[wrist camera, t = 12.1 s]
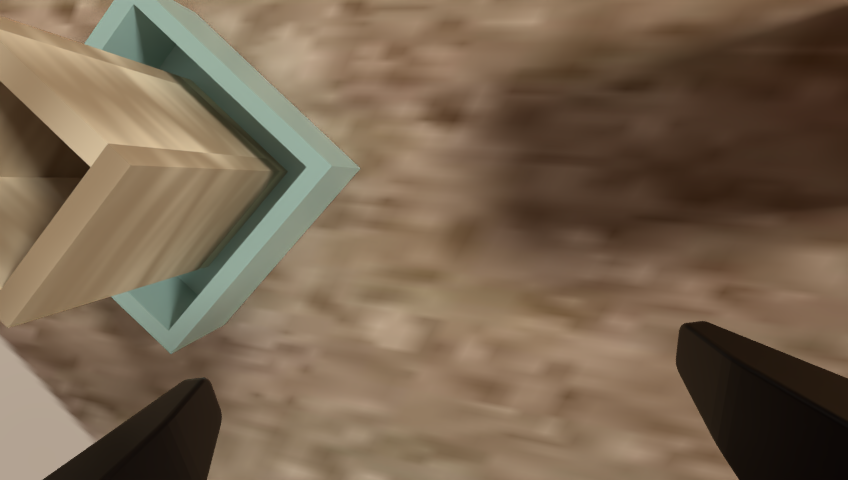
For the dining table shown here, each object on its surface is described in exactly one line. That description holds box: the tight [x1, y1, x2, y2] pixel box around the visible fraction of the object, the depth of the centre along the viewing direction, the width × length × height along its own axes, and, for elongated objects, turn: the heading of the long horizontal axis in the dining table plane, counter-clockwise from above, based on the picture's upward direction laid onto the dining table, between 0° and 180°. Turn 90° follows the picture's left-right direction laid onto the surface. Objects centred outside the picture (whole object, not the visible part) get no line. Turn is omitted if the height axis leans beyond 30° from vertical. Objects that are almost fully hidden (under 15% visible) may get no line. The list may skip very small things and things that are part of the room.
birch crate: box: [0, 16, 288, 328], centre depth 17 cm, size 6×6×10 cm
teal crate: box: [85, 0, 360, 354], centre depth 21 cm, size 10×10×4 cm
